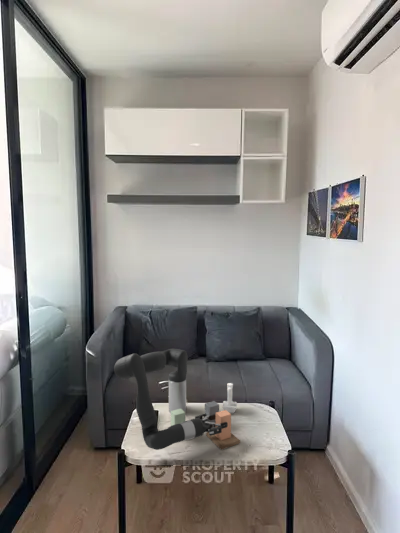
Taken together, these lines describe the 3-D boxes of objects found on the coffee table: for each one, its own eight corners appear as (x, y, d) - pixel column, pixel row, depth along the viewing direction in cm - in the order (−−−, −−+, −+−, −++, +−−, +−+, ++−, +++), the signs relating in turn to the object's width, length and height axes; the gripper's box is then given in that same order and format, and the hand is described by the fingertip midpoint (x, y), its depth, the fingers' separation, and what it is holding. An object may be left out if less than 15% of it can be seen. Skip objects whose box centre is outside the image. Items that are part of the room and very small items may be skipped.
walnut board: (206, 435, 175) (206, 432, 174) (224, 429, 180) (224, 427, 179) (221, 449, 163) (221, 446, 163) (240, 443, 168) (240, 440, 168)
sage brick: (170, 433, 176) (170, 411, 175) (181, 430, 179) (181, 408, 178) (174, 438, 172) (174, 415, 171) (185, 435, 175) (185, 412, 174)
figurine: (236, 407, 203) (236, 380, 201) (236, 415, 193) (236, 387, 192) (223, 406, 204) (223, 379, 202) (222, 414, 194) (222, 387, 193)
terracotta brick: (215, 435, 172) (215, 412, 171) (225, 432, 175) (225, 409, 173) (220, 440, 168) (220, 417, 167) (230, 437, 171) (231, 414, 170)
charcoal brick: (204, 424, 184) (204, 403, 183) (214, 422, 187) (214, 400, 186) (209, 429, 180) (209, 407, 179) (219, 426, 183) (219, 404, 182)
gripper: (198, 428, 156) (230, 419, 164) (183, 414, 168) (213, 405, 176) (198, 445, 156) (230, 435, 164) (183, 429, 169) (213, 420, 177)
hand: (221, 420), depth 170 cm, fingers open, 8 cm apart
